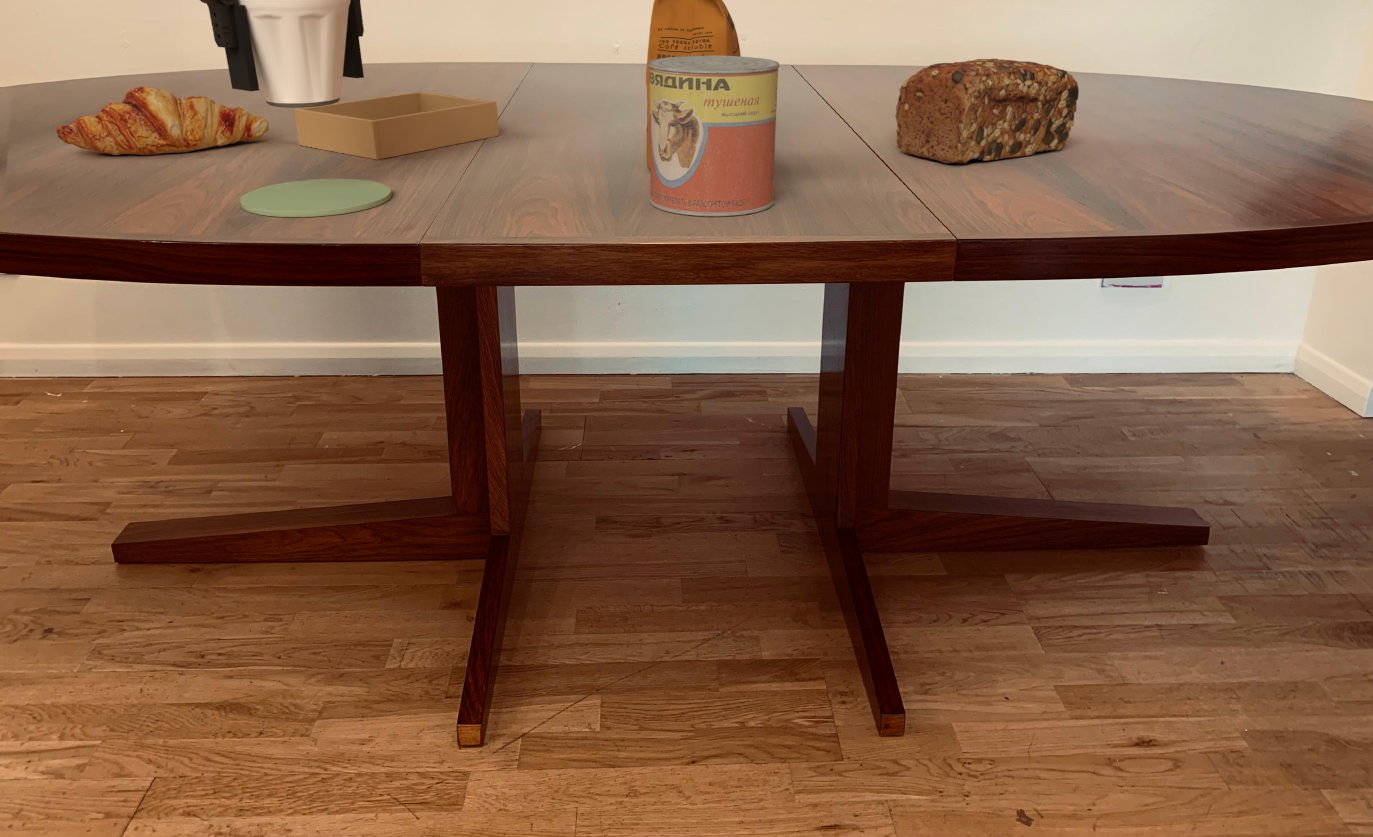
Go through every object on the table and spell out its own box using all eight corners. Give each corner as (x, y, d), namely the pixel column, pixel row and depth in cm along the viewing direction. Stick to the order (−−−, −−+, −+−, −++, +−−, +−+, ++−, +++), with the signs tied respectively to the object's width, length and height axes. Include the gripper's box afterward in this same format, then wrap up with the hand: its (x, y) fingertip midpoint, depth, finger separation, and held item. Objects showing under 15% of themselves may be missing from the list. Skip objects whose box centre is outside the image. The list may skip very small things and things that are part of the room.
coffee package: (751, 154, 112) (758, -66, 102) (729, 178, 101) (735, -66, 91) (664, 150, 114) (663, -67, 104) (633, 172, 103) (629, -67, 94)
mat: (210, 202, 90) (209, 197, 90) (332, 177, 100) (332, 172, 100) (299, 225, 84) (298, 219, 83) (421, 196, 93) (420, 190, 93)
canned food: (623, 201, 92) (621, 62, 86) (704, 182, 99) (706, 52, 94) (719, 223, 85) (722, 73, 80) (798, 200, 93) (805, 62, 87)
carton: (299, 145, 115) (293, 109, 114) (422, 124, 129) (419, 91, 127) (376, 159, 108) (372, 121, 106) (499, 135, 122) (496, 101, 120)
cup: (306, 115, 82) (287, -9, 78) (216, 106, 86) (193, -12, 82) (387, 99, 90) (374, -14, 86) (302, 92, 94) (285, -17, 90)
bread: (957, 169, 106) (969, 68, 101) (887, 152, 114) (895, 58, 109) (1074, 151, 115) (1090, 58, 110) (1001, 136, 123) (1013, 49, 119)
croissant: (271, 165, 121) (257, 100, 121) (279, 137, 112) (263, 66, 112) (68, 179, 112) (52, 109, 111) (59, 149, 103) (42, 72, 103)
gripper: (136, -244, 68) (204, 101, 77) (401, -208, 84) (429, 73, 94) (80, -234, 72) (151, 93, 81) (344, -202, 88) (377, 67, 98)
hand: (300, 82), depth 87 cm, fingers closed on cup, 10 cm apart
